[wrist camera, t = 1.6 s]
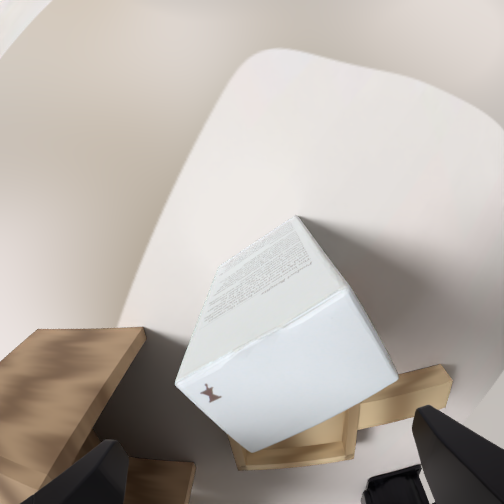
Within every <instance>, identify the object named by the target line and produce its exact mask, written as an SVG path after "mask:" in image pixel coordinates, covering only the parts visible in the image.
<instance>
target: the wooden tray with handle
mask: <svg viewBox="0 0 504 504" xmlns="http://www.w3.org/2000/svg"><path fill="white" fill-rule="evenodd" d="M452 382H453V380H452V379H451V377H450V376H449V375H448V373H447V372H446V371H445V369H444V368H443V367H442V365H441V364H439V365H435V366H431V367H428V368H424V369H420V370H416V371H412V372H407V373H403V374H399V379H398V380H397V381H396V382H394V383H392V384H391V385H389V386H387V387H385V388H384V389H382V390H381V391H379V392H377V393H376V394H374V395H372V396H370V397H369V398H367V399H365V400H363V401H362V402H360V403H358V404H356V405H354V406H353V407H351V408H349V409H347V410H345V411H343V412H342V413H340V414H338V415H336V416H334V417H332V418H330V419H328V420H326V421H324V422H322V423H320V424H318V425H316V426H314V427H312V428H309V429H307V430H305V431H303V432H301V433H298V434H296V435H294V436H292V437H290V438H287V439H285V440H283V441H281V442H278V443H276V444H273V445H271V446H269V447H266V448H264V449H262V450H259V451H257V452H254V453H251V452H249V451H248V450H246V449H245V448H244V447H243V446H241V445H240V444H239V443H237V442H236V441H235V440H234V439H233V438H232V437H230V436H229V435H228V434H227V435H228V439H229V442H230V446H231V449H232V452H233V455H234V459H235V462H236V465H237V468H238V471H241V470H267V469H281V468H293V467H302V466H311V465H319V464H326V463H332V462H339V461H344V460H350V459H354V453H355V445H356V437H357V430H359V429H364V428H369V427H374V426H379V425H383V424H387V423H392V422H396V421H400V420H404V419H407V418H411V417H414V415H415V411H416V409H417V408H419V407H422V406H425V405H431V406H433V407H434V408H436V409H437V410H439V409H442V408H445V407H446V404H447V400H448V397H449V393H450V390H451V386H452Z"/></svg>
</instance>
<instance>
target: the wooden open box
mask: <svg viewBox="0 0 504 504" xmlns="http://www.w3.org/2000/svg"><path fill="white" fill-rule="evenodd" d="M146 339H147V338H146V335H145V332H144V328H143V327H130V328H103V329H37V330H36V331H35V332H34V333H33V334H31V335H30V336H29V337H28V338H27V339H26V340H25V341H23V342H22V343H21V344H20V345H19V346H17V347H16V348H15V349H14V350H13V351H12V352H11V353H9V354H8V355H7V356H6V357H5V358H4V359H3V360H2V361H1V362H0V504H20V503H21V502H23V501H24V500H26V499H27V498H28V497H30V496H31V495H34V493H35V492H37V491H38V490H40V489H41V488H42V487H44V486H45V485H46V484H48V483H49V482H51V481H52V480H53V479H55V478H56V477H57V476H59V475H60V474H61V473H63V472H64V471H65V470H67V469H68V468H69V467H70V466H72V465H73V464H74V463H76V462H77V461H78V460H80V459H81V458H82V457H84V456H85V455H86V454H87V453H89V452H90V451H91V450H92V449H94V448H95V447H96V446H98V445H99V444H100V443H101V442H100V440H99V438H98V437H97V435H96V433H95V432H94V430H93V426H94V424H95V422H96V421H97V419H98V417H99V416H100V414H101V412H102V411H103V409H104V407H105V406H106V404H107V402H108V401H109V399H110V397H111V396H112V394H113V392H114V391H115V389H116V387H117V386H118V384H119V382H120V381H121V379H122V377H123V376H124V374H125V373H126V371H127V369H128V368H129V366H130V364H131V363H132V361H133V360H134V358H135V356H136V355H137V353H138V352H139V350H140V348H141V347H142V345H143V344H144V342H145V341H146ZM195 470H196V466H195V464H194V462H177V461H163V460H152V459H143V458H134V457H129V466H128V473H127V481H126V489H125V496H124V502H123V504H188V503H189V499H190V494H191V489H192V485H193V480H194V475H195Z"/></svg>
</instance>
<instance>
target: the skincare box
mask: <svg viewBox="0 0 504 504" xmlns="http://www.w3.org/2000/svg"><path fill="white" fill-rule="evenodd" d="M398 379H399V375H398V373H397V370H396V368H395V366H394V364H393V362H392V360H391V358H390V356H389V354H388V352H387V350H386V348H385V347H384V345H383V343H382V341H381V339H380V337H379V335H378V334H377V332H376V330H375V328H374V326H373V324H372V322H371V321H370V319H369V317H368V315H367V313H366V312H365V310H364V308H363V306H362V305H361V303H360V301H359V300H358V298H357V296H356V295H355V293H354V291H353V290H352V288H351V287H350V285H349V284H348V282H347V281H346V280H345V278H344V277H343V276H342V275H341V273H340V272H339V271H338V269H337V268H336V267H335V265H334V264H333V263H332V261H331V260H330V259H329V258H328V256H327V255H326V253H325V252H324V251H323V249H322V248H321V247H320V245H319V244H318V242H317V241H316V240H315V238H314V237H313V236H312V234H311V233H310V231H309V230H308V229H307V227H306V226H305V225H304V223H303V222H302V221H301V219H300V218H299V217H298V216H293V217H292V218H290V219H289V220H287V221H286V222H284V223H283V224H281V225H280V226H278V227H277V228H275V229H274V230H272V231H271V232H269V233H268V234H266V235H265V236H263V237H262V238H260V239H259V240H257V241H256V242H254V243H253V244H251V245H250V246H248V247H247V248H245V249H244V250H242V251H241V252H239V253H238V254H236V255H235V256H233V257H232V258H230V259H229V260H227V261H226V262H225V263H223V264H221V265H220V266H219V267H218V270H217V272H216V275H215V277H214V280H213V282H212V285H211V288H210V290H209V293H208V296H207V298H206V301H205V303H204V306H203V308H202V311H201V314H200V316H199V319H198V322H197V324H196V327H195V330H194V332H193V335H192V337H191V340H190V342H189V345H188V347H187V350H186V353H185V355H184V358H183V361H182V364H181V366H180V369H179V372H178V375H177V377H176V380H175V385H176V387H177V388H178V389H180V390H181V391H182V392H183V393H184V394H185V395H186V396H187V397H188V398H189V399H190V400H191V401H192V402H193V403H194V404H195V405H196V406H197V407H198V408H200V409H201V410H202V411H203V412H204V413H205V414H206V415H207V416H208V417H209V418H210V419H211V420H213V421H214V422H215V423H216V424H217V425H218V426H219V427H220V428H221V429H222V430H224V431H225V432H226V433H227V434H228V435H229V436H230V437H232V438H233V439H234V440H235V441H236V442H237V443H239V444H240V445H241V446H243V447H244V448H245V449H246V450H248V451H249V452H251V453H254V452H257V451H259V450H262V449H264V448H266V447H269V446H271V445H273V444H276V443H278V442H281V441H283V440H285V439H287V438H290V437H292V436H294V435H296V434H298V433H301V432H303V431H305V430H307V429H309V428H312V427H314V426H316V425H318V424H320V423H322V422H324V421H326V420H328V419H330V418H332V417H334V416H336V415H338V414H340V413H342V412H343V411H345V410H347V409H349V408H351V407H353V406H354V405H356V404H358V403H360V402H362V401H363V400H365V399H367V398H369V397H370V396H372V395H374V394H376V393H377V392H379V391H381V390H382V389H384V388H385V387H387V386H389V385H391V384H392V383H394V382H396V381H397V380H398Z"/></svg>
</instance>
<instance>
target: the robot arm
mask: <svg viewBox="0 0 504 504" xmlns="http://www.w3.org/2000/svg"><path fill="white" fill-rule="evenodd" d="M412 432H413V436H414V439H415V443H416V446H417V450H418V453H419V457H420V460H421V464H422V468H423V471H424V474H425V477H426V479H427V482H428V484H429V487H430V489H431V492H432V494H433V497H434V499H435V502H434V503H432V504H504V449H502V448H500V447H498V446H497V445H495V444H493V443H491V442H490V441H488V440H486V439H485V438H483V437H481V436H480V435H478V434H477V433H475V432H473V431H472V430H470V429H468V428H467V427H465V426H463V425H462V424H460V423H458V422H457V421H455V420H454V419H452V418H450V417H449V416H447V415H445V414H444V413H442V412H441V411H439V410H437V409H436V408H434V407H433V406H431V405H425V406H422V407H419V408H417V409H416V411H415V415H414V420H413V425H412ZM128 466H129V457H128V455H127V453H126V452H125V450H124V449H123V447H122V446H121V444H120V443H119V442H118V441H117V440H111V439H106V440H104V441H103V442H101V443H100V444H99V445H98V446H96V447H95V448H94V449H92V450H91V451H90V452H89V453H87V454H86V455H85V456H84V457H82V458H81V459H80V460H78V461H77V462H76V463H74V464H73V465H72V466H70V467H69V468H68V469H67V470H65V471H64V472H63V473H61V474H60V475H59V476H57V477H56V478H55V479H53V480H52V481H51V482H49V483H48V484H46V485H45V486H44V487H42V488H41V489H40V490H38V491H37V492H35V493H34V495H31V496H30V497H28V498H27V499H26V500H24V501H23V502H21V503H20V504H123V502H124V496H125V489H126V481H127V473H128ZM422 468H421V466H420V465H417V466H414V467H411V468H408V469H404V470H401V471H397V472H393V473H390V474H386V475H382V476H378V477H373V478H370V479H369V480H368V482H367V486H366V490H364V492H363V494H362V498H361V503H362V504H429V501H428V499H427V496H426V493H425V491H424V488H423V486H422V483H421V481H420V478H419V474H420V471H421V469H422Z"/></svg>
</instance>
